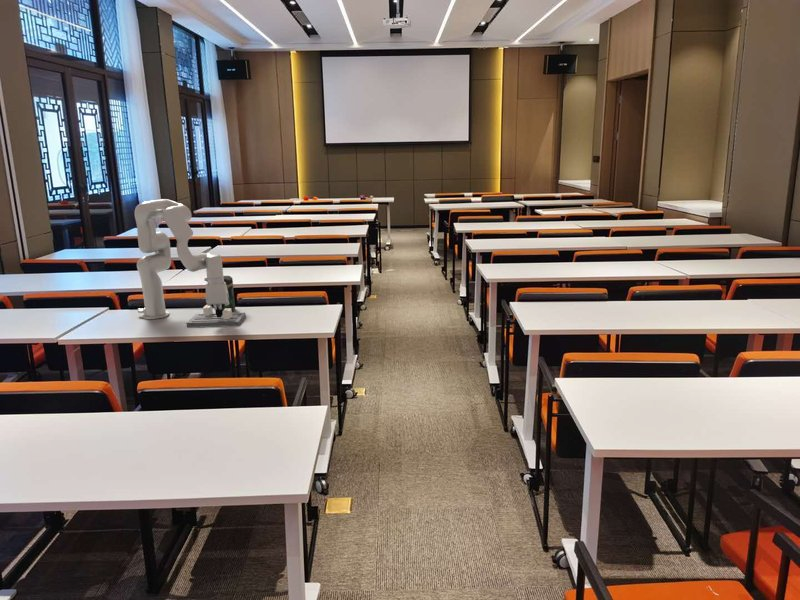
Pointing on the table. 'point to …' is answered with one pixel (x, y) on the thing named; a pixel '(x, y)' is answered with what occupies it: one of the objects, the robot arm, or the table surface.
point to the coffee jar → (229, 292)
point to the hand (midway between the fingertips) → (219, 316)
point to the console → (214, 319)
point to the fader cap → (227, 313)
